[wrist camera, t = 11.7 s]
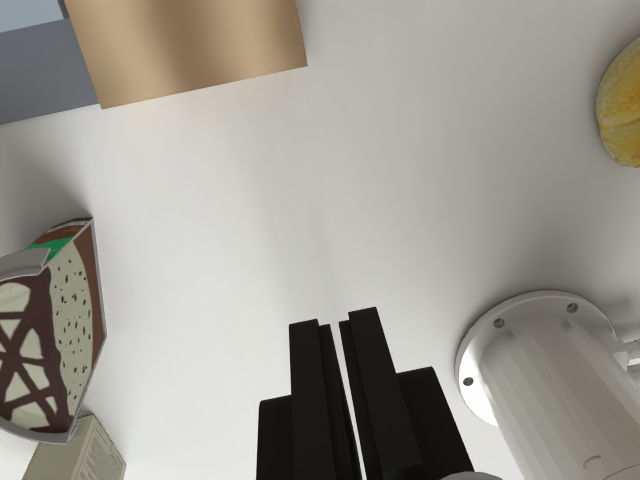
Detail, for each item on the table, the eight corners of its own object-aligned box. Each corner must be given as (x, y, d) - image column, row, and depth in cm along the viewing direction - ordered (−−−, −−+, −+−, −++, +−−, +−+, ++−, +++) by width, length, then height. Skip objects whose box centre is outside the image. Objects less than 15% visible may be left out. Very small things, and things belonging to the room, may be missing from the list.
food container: (-7, 194, 39) (-92, 263, 30) (90, 196, 39) (36, 264, 30) (22, 353, 44) (-42, 453, 35) (109, 353, 45) (67, 451, 35)
